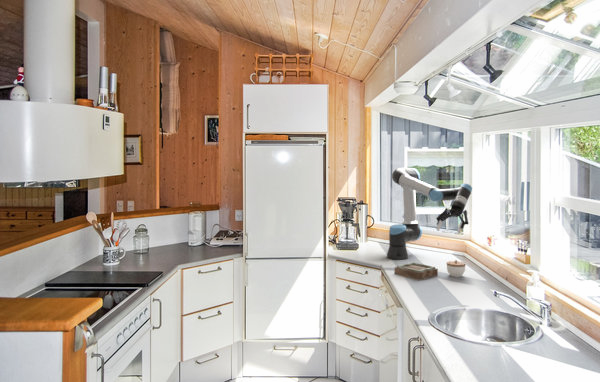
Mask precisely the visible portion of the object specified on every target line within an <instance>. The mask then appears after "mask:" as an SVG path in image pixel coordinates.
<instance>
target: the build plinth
mask: <svg viewBox="0 0 600 382" xmlns="http://www.w3.org/2000/svg"><path fill="white" fill-rule="evenodd" d="M394 275H397V276H401V277H405V278H409V279H413V280H417V281H420V280H425V279H428V278H433V277H437V276H438V275H439V269H438V268H436V266H432V265H427V264H423V263H419V262H409V263H405V264H404V263H403V264H400V265H397V266H395V267H394Z"/></svg>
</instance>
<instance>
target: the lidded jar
mask: <svg viewBox="0 0 600 382" xmlns="http://www.w3.org/2000/svg"><path fill="white" fill-rule="evenodd" d="M446 270H447V273H448V274H449V275H450V277H453V278H460V277H462V276H463V275H464V274H465V271H466V262H463V261H458V259H455V260H451V261H447V262H446Z"/></svg>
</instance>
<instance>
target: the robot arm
mask: <svg viewBox="0 0 600 382" xmlns="http://www.w3.org/2000/svg"><path fill="white" fill-rule="evenodd" d="M391 179H392V181H393V182H394V183H395V184H396V185H398V186H400V187H401V189H402V190H403V192H402V195H403V196H402V199H403V219H404V220H403V221H402V224H400V223H399V224H393V225H391V226H390V227H389V230H388V233H389V239H388V240H389V242H388V243H389V247H388V249H387V250H388V251H387V252H386V258H388V259H391V260H407V259H409V253H408V250H407V243H408V242H416V241H418V240H420V238H421V237H422V235H423V230H422V227H421V226H420V225H419V222H418V221H417V210H416V209H417V207H416V204H417V203H416V192H417V193H420V194H422V195H423V196H426V197H428V198H429V199H430V200H431V201H432V202H442V201H444V202H447V201H453V202H452V205H451V207H450V209H449V208H447V207H446V208H445V209H444V210H443V212H442V213H440V214H439V215H438V216H437V217H436V221H437V223H436V228H435V229H436V231H438V232H439V231H440V229H441V228H442V225H443V222H444V221H446V220H447V219H448V218H451V217H453V218H455V217H456V218H459V220H460V221H461V222H460V223H459V225H458V228H457V230H456V231H457V234H461V231H462V229H464V228H465V225H469V219H468V211H467V209H465V208H466V205H467V203H468V201H469V198H470V196H471V194H472V191H473V187H472V186H471V184H469V183H466V182H465V183H461V184H460V186H459V187H456V188H443V189H441V188H438V187H435V186H433V185H431V184H428V183H426V182H424V181H421V180H420V179H421V174H420V172H419V171H418V170H417V169H416V168H415V167H414V168H413V167H398V168H396V169H394V170H393V172H392V174H391ZM462 214H463V217H464V219H463V217H462V216H461V215H462Z"/></svg>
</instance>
